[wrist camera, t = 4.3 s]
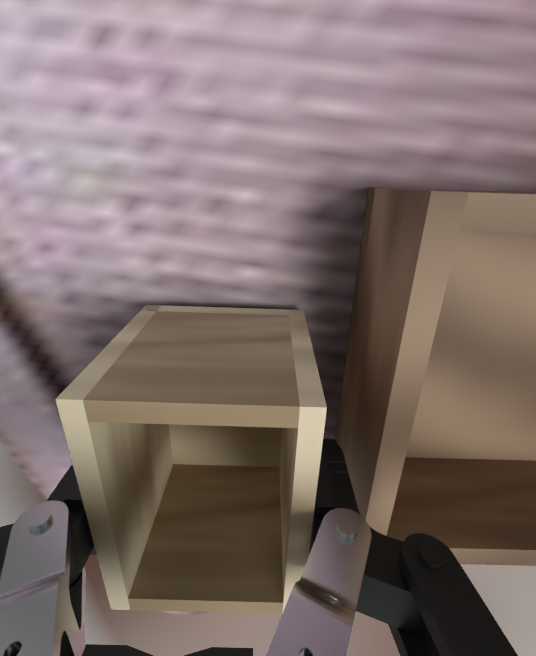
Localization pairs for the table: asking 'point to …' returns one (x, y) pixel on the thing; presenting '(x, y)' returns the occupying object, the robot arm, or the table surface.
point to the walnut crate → (445, 371)
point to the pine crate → (199, 457)
